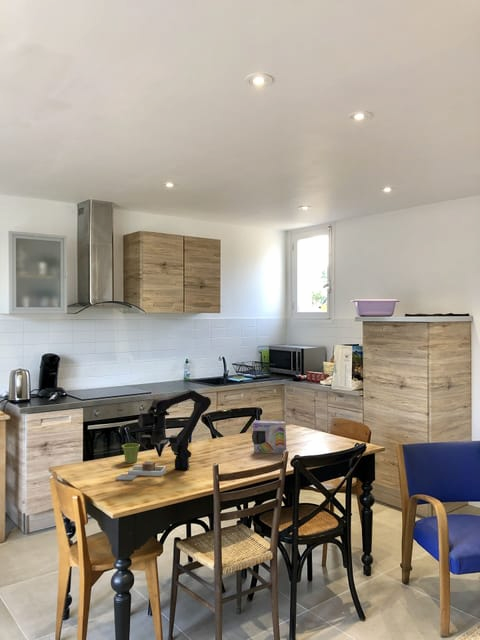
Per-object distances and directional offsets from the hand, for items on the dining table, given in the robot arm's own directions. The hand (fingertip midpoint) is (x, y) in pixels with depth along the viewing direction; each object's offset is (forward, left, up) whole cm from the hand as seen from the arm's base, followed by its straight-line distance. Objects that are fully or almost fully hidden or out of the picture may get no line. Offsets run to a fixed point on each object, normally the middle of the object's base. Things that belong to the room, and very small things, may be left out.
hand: (159, 456), depth 254 cm
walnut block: (+6, 0, -8) cm, 10 cm away
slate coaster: (+14, +10, -8) cm, 18 cm away
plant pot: (+21, -18, -8) cm, 29 cm away
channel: (+7, 0, -8) cm, 10 cm away
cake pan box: (-51, -44, -8) cm, 68 cm away
